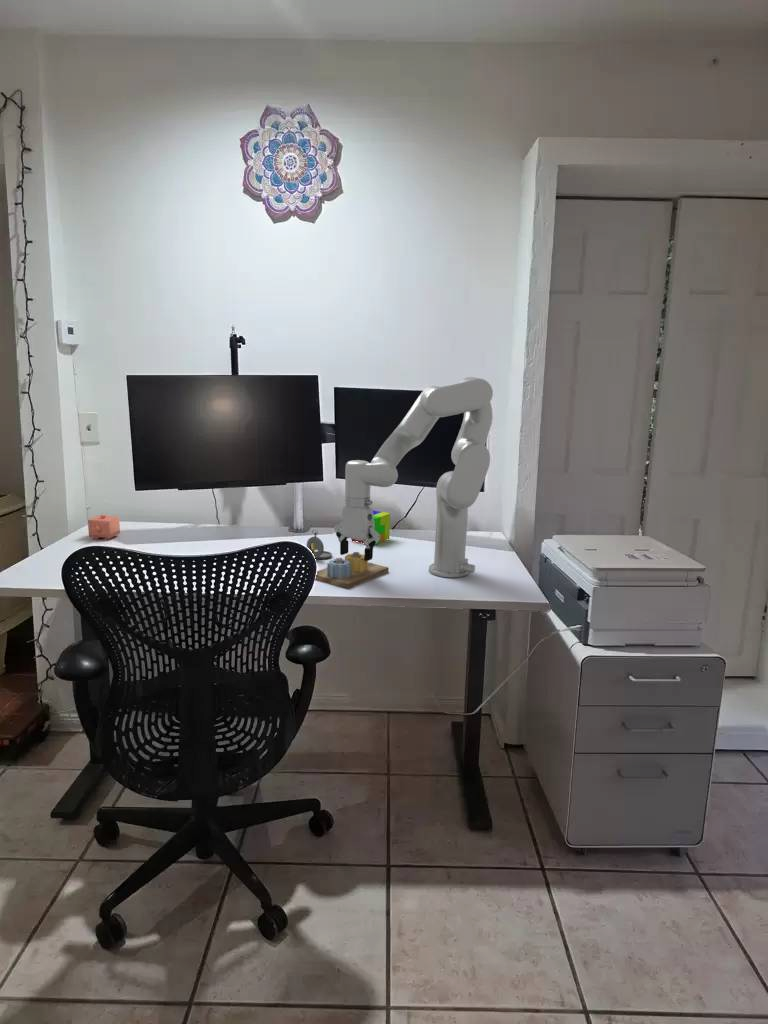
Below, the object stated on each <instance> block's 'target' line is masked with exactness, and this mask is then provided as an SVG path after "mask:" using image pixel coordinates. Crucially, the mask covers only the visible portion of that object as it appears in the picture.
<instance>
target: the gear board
mask: <svg viewBox="0 0 768 1024" xmlns="http://www.w3.org/2000/svg"><path fill="white" fill-rule="evenodd" d="M359 553H360V552H359V551H354V552H353V557H354V558H359ZM335 559H336V564H342V559H343V558H342V557H336V558H335ZM389 569H390V567H388V566H384V565H380V564H376V563H373V562H369V561H368V569H367V570H363V572H359V571H355V572H351V575H349V577H348V578H346V577H345V578H342V579H338V578H331V577H330V576H327V567H325V568H322V569H320V570H318V571H316V572H317V575H316V579H315V580H317V581H319V582H323V583H326V584H330V585H333V586H336V587H340V588H343V589H346V590H348V589H351V588H353V587H355V586H359V585H361V584H363V583H366V582H368V581H371V580H373V579H375V578H378V577H381V576H382V575H385V574H387V573H389Z"/></svg>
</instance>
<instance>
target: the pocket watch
mask: <svg viewBox="0 0 768 1024" xmlns="http://www.w3.org/2000/svg"><path fill="white" fill-rule="evenodd" d="M311 532H312V534H313V535H314V536H311V537H309V538H308V539H307V541H306V548H307V547H308V548H309V549H310V550H311V551H312V553H313V554H314V556H315V557H316V558H315V559H318V560H319V559H320V560H324V559H330V558H331V557H332V556H333V554H332V552H330V551H326V550H324V549H325V546H324V543H323V541H322V540H321V538H320V537H317V535H319V531H318V530H316V529H312V530H311Z"/></svg>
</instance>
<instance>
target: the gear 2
mask: <svg viewBox="0 0 768 1024" xmlns="http://www.w3.org/2000/svg"><path fill="white" fill-rule="evenodd" d="M344 560H348V561H349V563H351V572H355V571H359V572H363V570H367V569H368V562H369V561H365V560H364V554H363V553H360V552H359V558H354V557H353V553H347V554H346V555H345V556H344Z"/></svg>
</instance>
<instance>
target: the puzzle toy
mask: <svg viewBox="0 0 768 1024" xmlns="http://www.w3.org/2000/svg"><path fill="white" fill-rule="evenodd" d="M373 515H374V530H375V531H376V532H377V533H378V534H379V535H380V536H381V537H380V539H379V541H378V543H377V544H378V545H380V544H379V543H381V542H383V541H385V540H387V539H389V540H390V534H391V533H390V530H391V513H390V512H385V511H378V510H373ZM373 539H374V538H372V540H373ZM350 540H352V541H351V542H353V541H358V542H362V543H361V544H363V543H364V542H363V541H360V540H355V539H351V538H350ZM367 541H368V540H367ZM358 542H357V543H358ZM385 542H386V541H385ZM368 543H369V542H368ZM383 543H384V542H383ZM381 544H382V543H381Z"/></svg>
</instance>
